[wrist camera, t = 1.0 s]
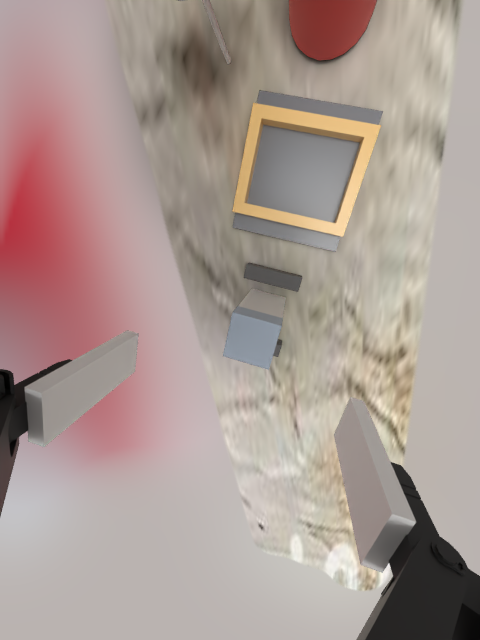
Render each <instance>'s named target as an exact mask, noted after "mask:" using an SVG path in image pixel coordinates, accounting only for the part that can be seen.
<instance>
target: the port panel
mask: <svg viewBox="0 0 480 640" xmlns="http://www.w3.org/2000/svg"><path fill="white" fill-rule="evenodd" d="M382 113H383V111H378V110H372V109H366V108H361V107H355V106H349V105H343V104H337V103H331V102H325V101H320V100H314V99H308V98H302V97H296V96H290V95H284V94H279V93H273V92H267V91H261V90H259V95H258V100H257V103H253V107H252V112H251V117H250V122H249V128H248V133H247V138H246V143H245V148H244V154H243V159H242V164H241V169H240V174H239V180H238V185H237V190H236V195H235V200H234V205H233V212H235V217H234V222H233V228H237V229H241V230H246V231H250V232H254V233H258V234H262V235H267V236H271V237H275V238H279V239H284V240H288V241H292V242H296V243H301V244H305V245H309V246H313V247H317V248H322V249H326V250H330V251H334V252H336V249H337V246H338V243H339V240H340V237H343V236H344V233H345V230H346V227H347V224H348V221H349V218H350V215H351V212H352V209H353V206H354V203H355V200H356V198H357V195H358V192H359V189H360V186H361V183H362V180H363V177H364V174H365V171H366V168H367V165H368V162H369V159H370V157H371V154H372V151H373V148H374V145H375V142H376V139H377V136H378V133H379V130H380V127H381V125H379V122H380V119H381V116H382Z"/></svg>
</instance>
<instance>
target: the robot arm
mask: <svg viewBox="0 0 480 640" xmlns="http://www.w3.org/2000/svg"><path fill="white" fill-rule="evenodd" d="M137 345H138V333H135V332H131V331H128V330H127V331H125V332H123V333H122V334H120V335H118V336H116V337H114V338H113V339H111V340H109V341H107V342H105V343H104V344H102V345H100V346H98V347H96V348H94V349H93V350H91V351H89V352H87V353H85V354H84V355H82V356H80V357H78V358H76V359H75V360H70V359H69V360H65V361H61V362H58V363H56V364H54V365H52V366H50V367H48V368H47V369H44V370H42V371H40V372H39V373H37V374H35V375H33V376H31V377H29V378H27V379H25V380H23V381H21V382H19V383H18V384H16V385H14V378H13V373H12V372H10V371H8V370H3V369H0V516H1V512H2V508H3V504H4V500H5V496H6V492H7V489H8V484H9V481H10V477H11V473H12V469H13V466H14V462H15V458H16V454H17V450H18V446H19V436H21V435H22V434H23V433H25V432H26V431H28V441H29V442H32V443H34V444H37V445H40V446H42V447H45V446H46V445H48V444H49V443H50V442H51V441H52V440H54V439H55V438H56V437H57V436H58V435H60V433H62V432H63V431H64V430H65V429H67V428H68V427H69V426H70V425H71V424H73V423H74V422H75V421H76V420H77V419H79V418H80V417H81V416H82V415H83V414H85V413H86V412H87V411H88V410H89V409H91V408H92V407H93V406H94V405H95V404H96V403H98V402H99V401H100V400H101V399H102V398H104V397H105V396H106V395H107V394H108V393H110V392H111V391H112V390H113V389H114V388H115V387H117V386H118V385H119V384H120V383H122V382H123V381H124V380H125V379H126V378H128V377H129V376H130V375H131V374H132V373H134V372H135V366H136V355H137ZM334 437H335V442H336V447H337V452H338V457H339V462H340V467H341V471H342V476H343V481H344V486H345V491H346V496H347V501H348V506H349V511H350V515H351V520H352V525H353V530H354V535H355V540H356V545H357V550H358V554H359V559H360V564H361V565H363V566H366V567H368V568H371V569H374V570H376V571H379V572H383V571H384V569H385V568H386V566H387V565H388V563H390V567H391V570H392V573H393V577H392V579H391V580H390V582H389V583H388V585H387V586H386V587H385V589H384V590H383V592H382V593H381V595H382V596H381V598H380V599H379V601H378V603H377V605H376V606H375V608H374V610H373V612H372V613H371V615H370V617H369V619H368V620H367V622H366V624H365V626H364V627H363V629H362V631H361V633H360V634H359V636H358V638H357V640H480V576H479V575H477V574H476V573H474V572H472V571H471V570H470V569H468V567H467V565H466V563H465V561H464V560H463V558H462V557H461V555H460V554H459V553H458V552H457V551H456V550H455V549H454V548H453V547H452V546H451V545H450V544H449V543H448V542H447V541H445V540H444V539H443V538H441V537H440V536H439V534H438V532H437V530H436V528H435V526H434V524H433V522H432V520H431V518H430V516H429V514H428V512H427V510H426V508H425V506H424V504H423V502H422V501H421V498H420V495H419V493H418V491H416V487H415V485H414V483H413V481H412V479H411V477H410V476H409V475H408V473H407V472H406V471H405V470H404V469H403V467H402V466H401V465H398V464H395V463H392V462H390V460H389V458H388V455H387V453H386V451H385V448H384V446H383V444H382V441H381V439H380V437H379V434H378V432H377V430H376V427H375V425H374V423H373V421H372V418H371V416H370V414H369V411H368V409H367V407H366V404H365V402H364V401H362V400H359V399H356V398H352V397H350V399H349V401H348V404H347V406H346V408H345V410H344V413H343V415H342V417H341V420H340V422H339V424H338V426H337V429H336V431H335V433H334Z"/></svg>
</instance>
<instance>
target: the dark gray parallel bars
mask: <svg viewBox="0 0 480 640" xmlns="http://www.w3.org/2000/svg"><path fill="white" fill-rule="evenodd" d="M244 278H247V279H251V280H254V281H258V282H262V283H266V284H270V285H274V286H278V287H281V288H285V289H289V290H293V291H297V292H298V290H299V287H300V283H301V280H302V276H300V275H296V274H292V273H288V272H284V271H280V270H276V269H272V268H268V267H264V266H260V265H256V264H252V263H248V264H247V265H246V269H245V274H244ZM281 345H282V341H281V340H277V344H276V347H275V350H274V354H273V356H276V357H278V355H279V352H280V349H281Z"/></svg>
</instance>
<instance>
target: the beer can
mask: <svg viewBox="0 0 480 640" xmlns="http://www.w3.org/2000/svg"><path fill="white" fill-rule="evenodd" d="M376 2H377V0H289V20H290V27H291V32H292V37H293V38H294V40H295V42H296V44H297V46H298V48H299V49H300V50H301V51H302V52H303V53H304V54H306V55H307V56H308V57H311V58H314V59H316V60H331V59H333V58H336V57H338V56H340V55H342V54H344V53H345V52H347V51H348V50H349V49H350V48H351V47H353V46H354V45H355V44H356V43H357V42H358V40H359V39H360V37H361V36H362V34H363V33H364V32H365V30H366V28H367V26H368V23H369V21H370V19H371V16H372V14H373V11H374V8H375V5H376Z"/></svg>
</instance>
